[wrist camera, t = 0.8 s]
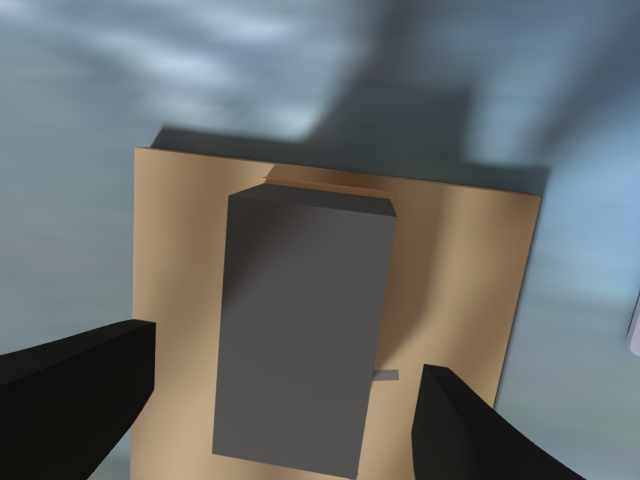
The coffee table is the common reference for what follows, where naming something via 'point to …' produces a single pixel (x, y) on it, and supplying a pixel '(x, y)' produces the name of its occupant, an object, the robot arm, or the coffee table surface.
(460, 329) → the oak board
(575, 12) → the coffee table surface
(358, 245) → the block
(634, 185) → the coffee table surface
